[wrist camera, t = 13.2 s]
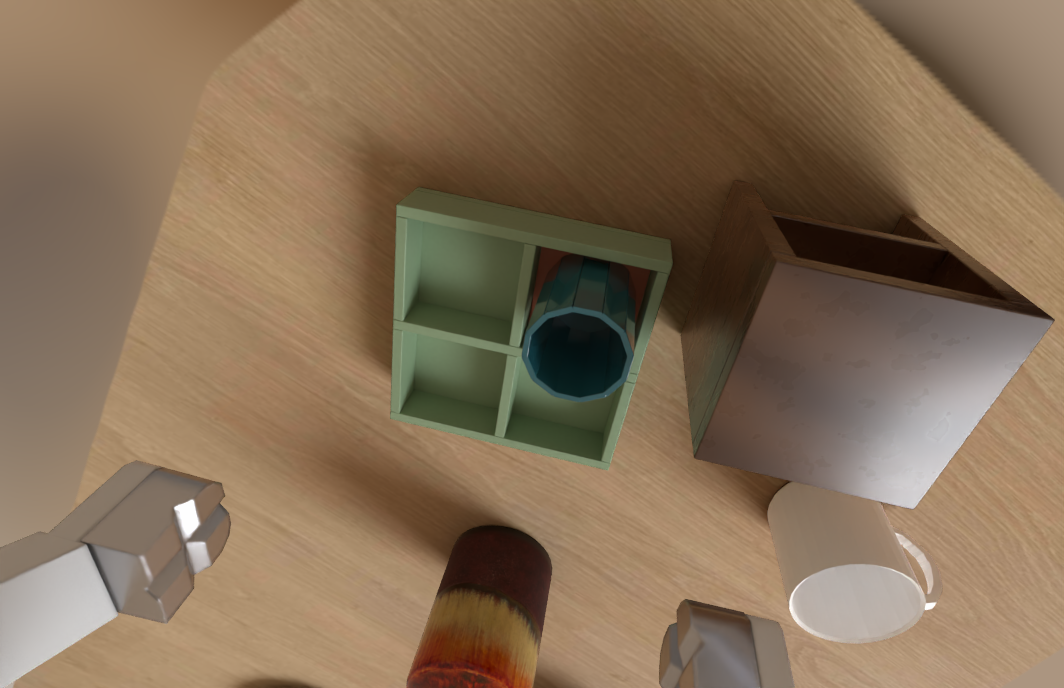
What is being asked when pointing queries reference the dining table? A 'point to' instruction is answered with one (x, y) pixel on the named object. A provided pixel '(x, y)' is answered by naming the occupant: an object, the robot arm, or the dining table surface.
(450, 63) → the dining table surface
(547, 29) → the dining table surface
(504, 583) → the vase
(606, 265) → the cup
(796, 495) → the mug
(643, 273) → the tray
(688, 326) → the shelf
